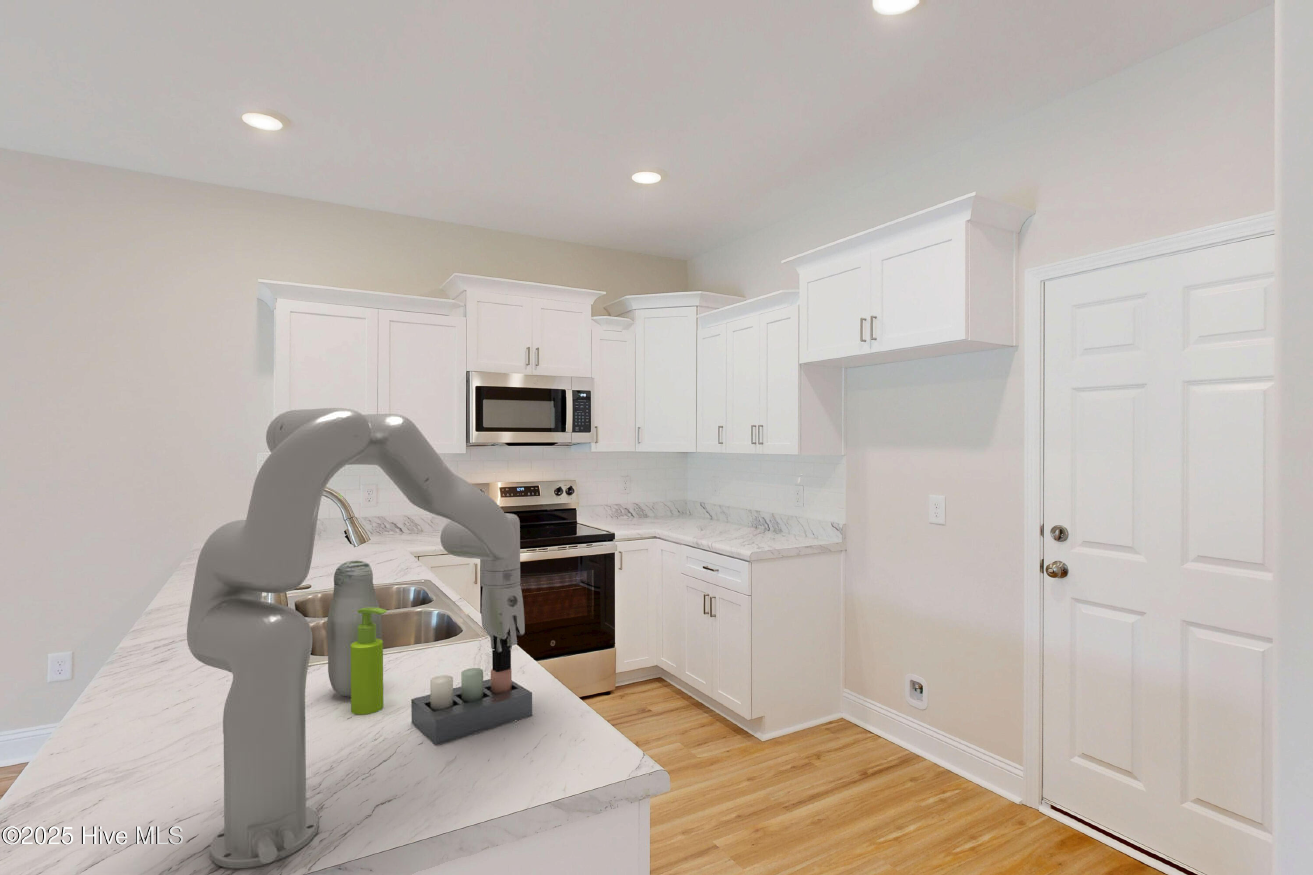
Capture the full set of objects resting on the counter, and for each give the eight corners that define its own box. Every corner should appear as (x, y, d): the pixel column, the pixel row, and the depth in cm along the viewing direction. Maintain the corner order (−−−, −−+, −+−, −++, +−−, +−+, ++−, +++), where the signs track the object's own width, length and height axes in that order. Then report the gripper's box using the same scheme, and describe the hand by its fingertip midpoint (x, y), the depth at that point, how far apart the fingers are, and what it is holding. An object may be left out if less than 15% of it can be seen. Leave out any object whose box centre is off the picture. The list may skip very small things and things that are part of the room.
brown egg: (515, 695, 131) (515, 670, 131) (496, 700, 128) (496, 675, 128) (505, 689, 134) (505, 664, 134) (487, 694, 132) (487, 669, 132)
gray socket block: (532, 715, 129) (532, 692, 129) (435, 745, 117) (435, 719, 117) (503, 697, 138) (503, 675, 138) (411, 722, 126) (411, 699, 126)
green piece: (486, 698, 127) (486, 672, 127) (466, 703, 125) (466, 677, 125) (477, 692, 130) (477, 666, 130) (458, 697, 128) (457, 671, 128)
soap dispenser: (376, 716, 129) (375, 613, 129) (344, 713, 130) (343, 611, 130) (394, 704, 135) (393, 605, 135) (363, 701, 136) (362, 603, 136)
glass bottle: (352, 682, 147) (351, 555, 147) (391, 688, 143) (390, 558, 143) (317, 700, 137) (316, 564, 137) (357, 705, 134) (356, 566, 134)
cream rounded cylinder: (456, 706, 123) (456, 679, 123) (435, 712, 121) (435, 684, 121) (448, 700, 126) (447, 673, 126) (427, 705, 124) (426, 678, 124)
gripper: (536, 580, 128) (537, 675, 128) (500, 568, 139) (501, 655, 140) (500, 586, 123) (501, 685, 123) (466, 573, 135) (467, 664, 135)
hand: (501, 669), depth 131 cm, fingers closed
